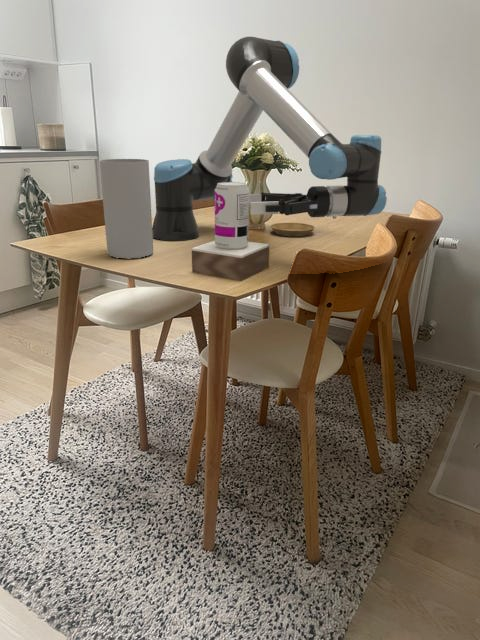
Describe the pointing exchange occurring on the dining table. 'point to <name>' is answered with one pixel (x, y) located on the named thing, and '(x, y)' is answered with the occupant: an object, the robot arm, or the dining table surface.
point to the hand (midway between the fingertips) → (242, 204)
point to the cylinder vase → (127, 207)
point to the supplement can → (231, 215)
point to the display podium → (230, 260)
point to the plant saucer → (292, 229)
